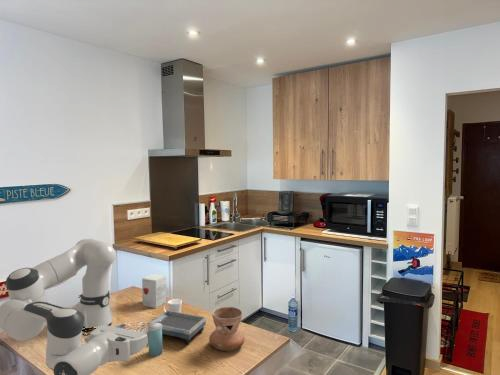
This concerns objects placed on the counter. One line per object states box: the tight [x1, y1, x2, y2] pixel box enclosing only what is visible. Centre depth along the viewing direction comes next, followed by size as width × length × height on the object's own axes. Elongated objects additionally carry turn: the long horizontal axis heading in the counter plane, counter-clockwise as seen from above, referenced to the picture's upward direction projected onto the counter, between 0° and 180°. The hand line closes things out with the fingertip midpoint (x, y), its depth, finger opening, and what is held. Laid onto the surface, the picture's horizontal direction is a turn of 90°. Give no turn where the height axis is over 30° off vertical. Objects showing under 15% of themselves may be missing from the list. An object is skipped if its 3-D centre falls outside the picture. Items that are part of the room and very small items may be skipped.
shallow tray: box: [148, 309, 207, 345], centre depth 153 cm, size 20×14×6 cm
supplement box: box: [141, 273, 167, 309], centre depth 185 cm, size 9×9×15 cm
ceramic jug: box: [208, 306, 246, 352], centre depth 144 cm, size 18×14×14 cm
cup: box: [162, 298, 183, 313], centre depth 170 cm, size 7×10×8 cm
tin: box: [147, 323, 163, 358], centre depth 138 cm, size 5×5×11 cm
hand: (134, 327), depth 125 cm, fingers open, 8 cm apart
